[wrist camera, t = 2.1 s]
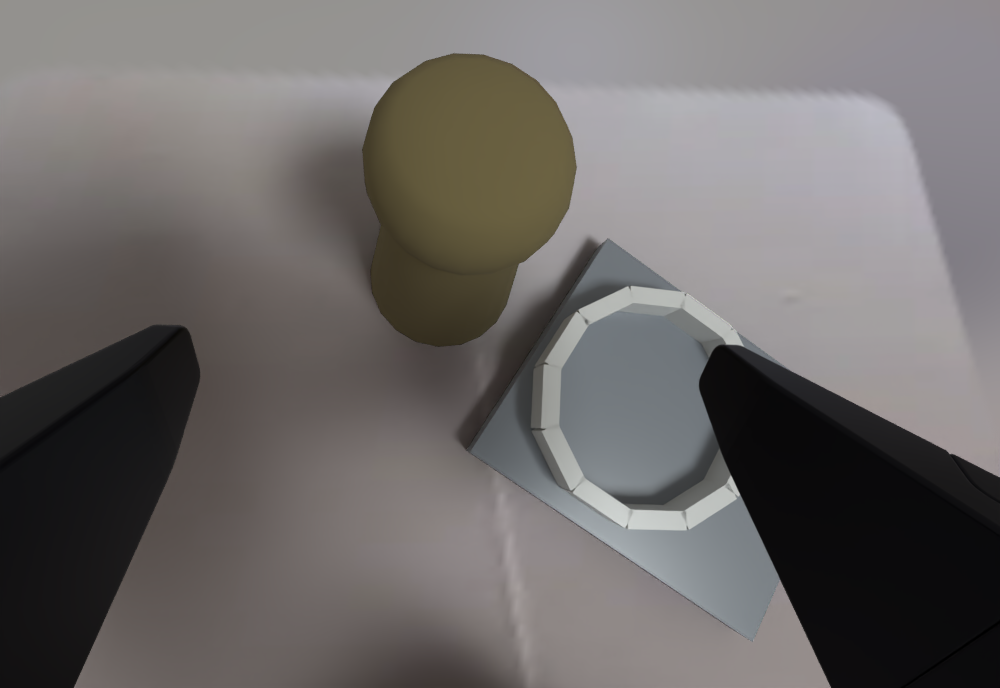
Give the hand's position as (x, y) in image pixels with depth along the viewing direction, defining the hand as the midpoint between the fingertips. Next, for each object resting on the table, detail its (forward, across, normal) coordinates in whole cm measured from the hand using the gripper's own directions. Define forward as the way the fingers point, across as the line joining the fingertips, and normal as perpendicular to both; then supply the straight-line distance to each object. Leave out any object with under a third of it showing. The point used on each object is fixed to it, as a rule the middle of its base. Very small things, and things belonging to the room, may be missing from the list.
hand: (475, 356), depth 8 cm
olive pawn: (+12, 0, +5) cm, 13 cm away
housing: (+8, -10, +10) cm, 16 cm away
